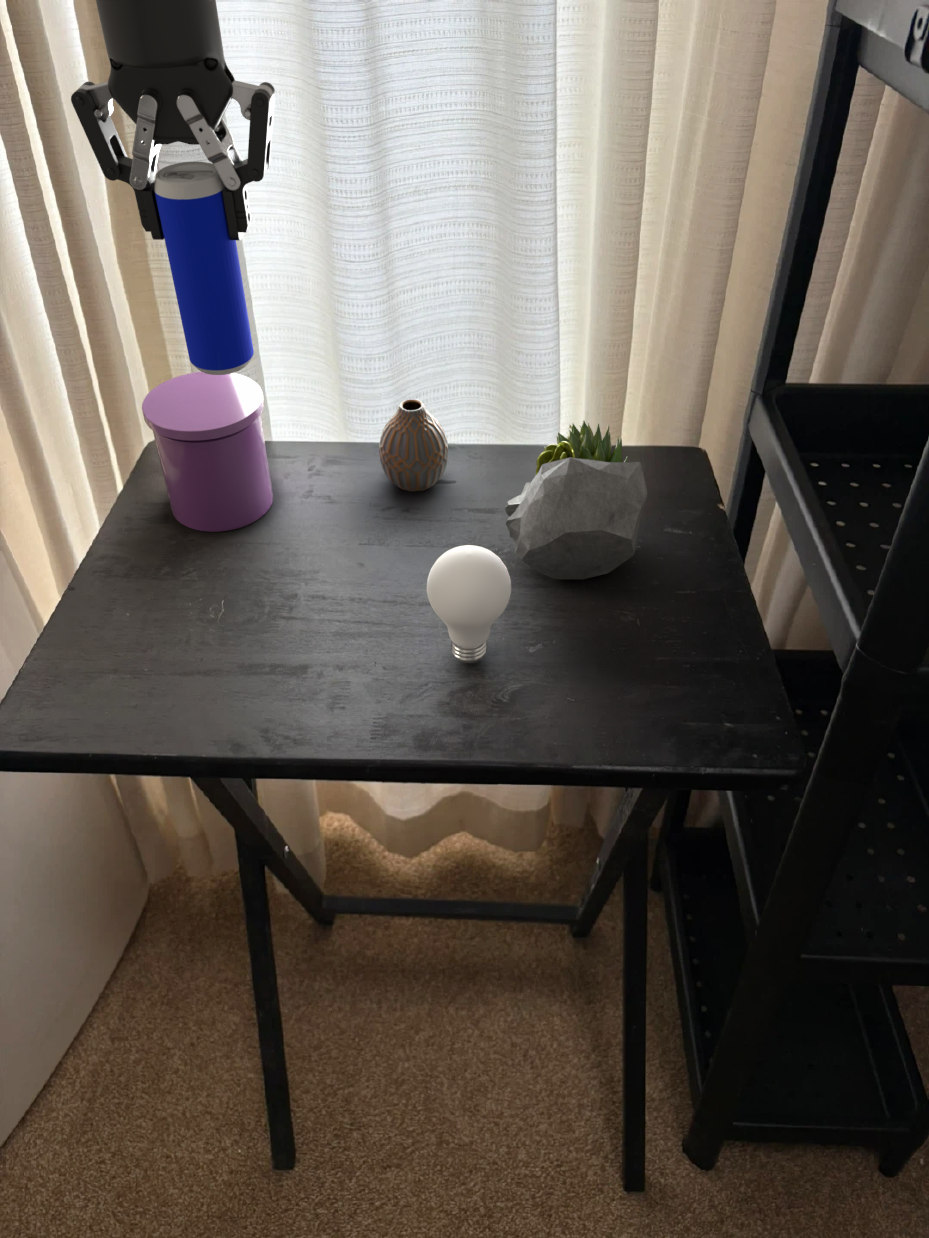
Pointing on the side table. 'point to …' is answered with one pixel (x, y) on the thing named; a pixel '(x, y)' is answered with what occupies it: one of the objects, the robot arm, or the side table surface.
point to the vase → (413, 447)
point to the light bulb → (468, 597)
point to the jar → (211, 449)
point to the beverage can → (204, 267)
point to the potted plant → (578, 507)
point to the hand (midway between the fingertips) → (199, 235)
